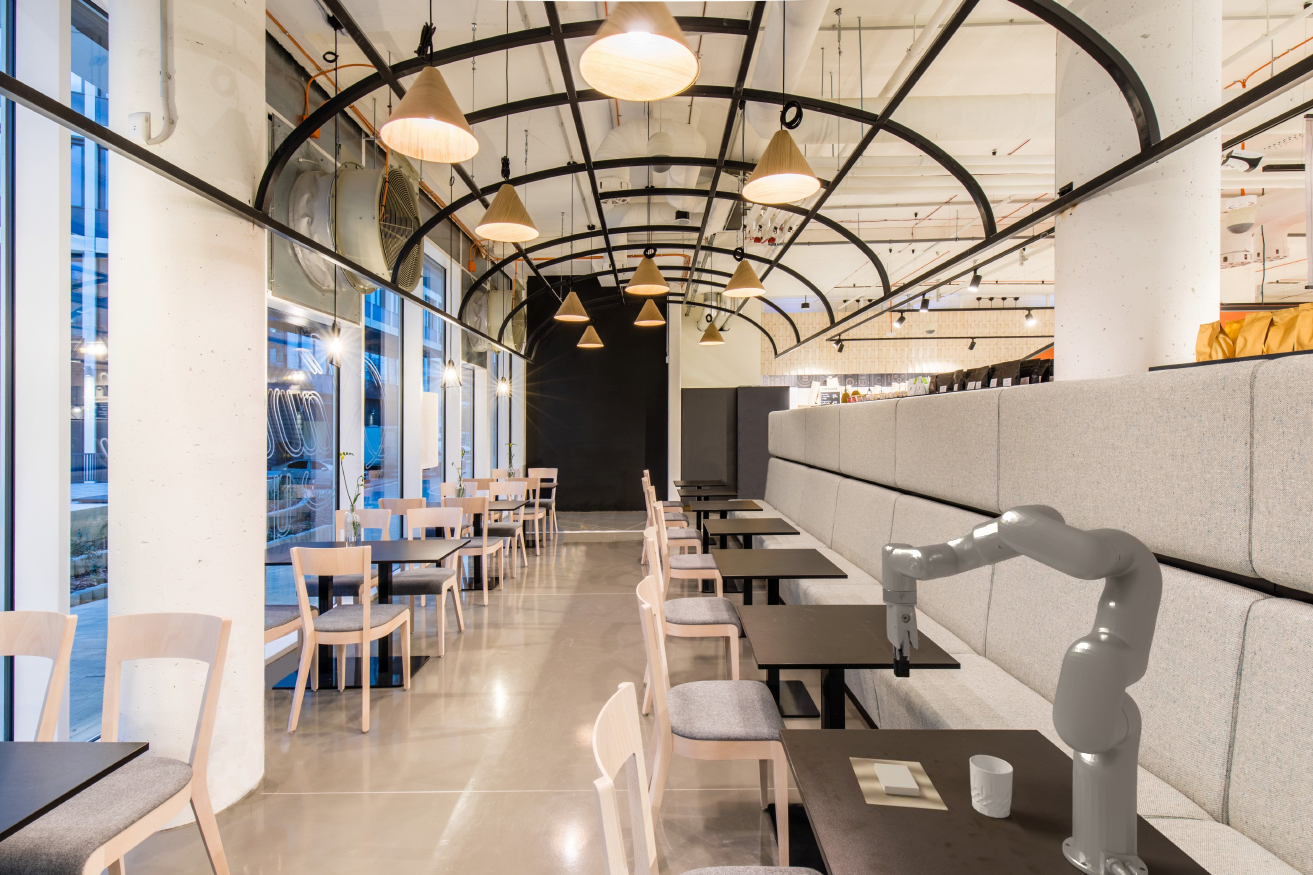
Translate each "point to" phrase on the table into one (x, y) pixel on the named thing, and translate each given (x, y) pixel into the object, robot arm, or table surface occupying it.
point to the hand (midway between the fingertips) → (901, 675)
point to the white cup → (991, 785)
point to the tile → (896, 780)
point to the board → (877, 796)
